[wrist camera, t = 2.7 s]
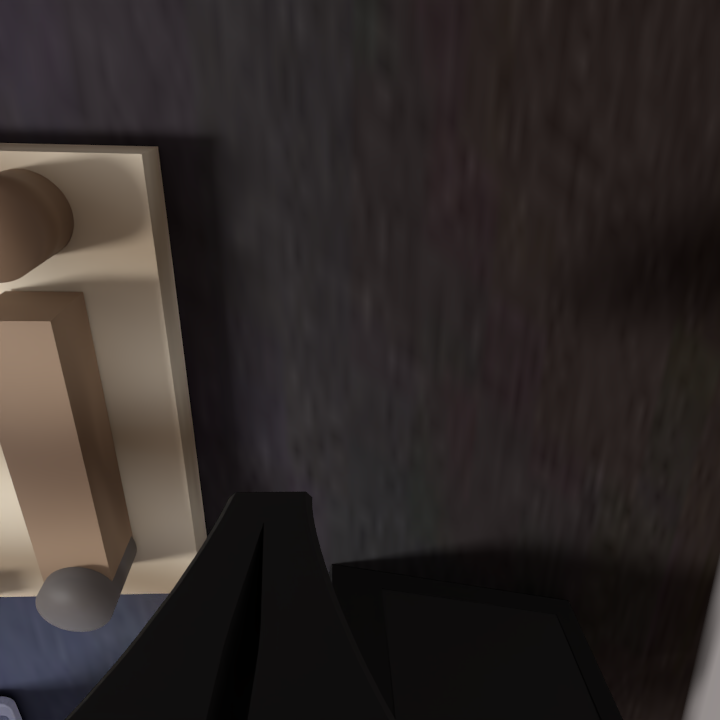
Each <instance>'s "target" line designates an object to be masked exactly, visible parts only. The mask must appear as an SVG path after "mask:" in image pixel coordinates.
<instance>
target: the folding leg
mask: <svg viewBox="0 0 720 720" xmlns="http://www.w3.org/2000/svg"><path fill="white" fill-rule="evenodd" d="M0 444H1V447H2V451H3V454H4V457H5V460H6V463H7V467H8V470H9V473H10V476H11V479H12V483H13V486H14V489H15V492H16V495H17V499H18V502H19V505H20V508H21V511H22V515H23V518H24V521H25V524H26V527H27V530H28V534H29V537H30V540H31V543H32V546H33V550H34V553H35V556H36V559H37V562H38V566H39V569H40V572H41V575H42V578H43V582H44V583H43V585H42V587H41V589H40V591H39V592H38V594H37V597H36V608H37V610H38V612H39V614H40V615H41V616H42V617H43V618H44V619H45V620H46V621H47V622H49V623H50V624H52V625H54V626H56V627H58V628H61V629H64V630H68V631H75V632H86V631H92V630H96V629H98V628H100V627H102V626H104V625H105V624H106V623H108V622H109V620H110V619H111V617H112V615H113V612H114V609H115V607H116V604H117V602H118V599H119V597H120V594H121V592H122V589H123V587H124V584H125V582H126V579H127V576H128V574H129V571H130V569H131V566H132V564H133V561H134V559H135V556H136V553H137V546H136V543H135V541H134V539H133V535H132V530H131V525H130V520H129V515H128V510H127V506H126V501H125V496H124V491H123V486H122V481H121V476H120V471H119V466H118V461H117V457H116V452H115V447H114V442H113V437H112V432H111V427H110V422H109V417H108V412H107V407H106V403H105V398H104V393H103V388H102V383H101V378H100V373H99V368H98V363H97V358H96V353H95V349H94V344H93V339H92V334H91V329H90V324H89V319H88V314H87V309H86V304H85V299H84V295H83V292H54V291H4V292H3V293H2V294H0Z"/></svg>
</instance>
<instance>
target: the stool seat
mask: <svg viewBox="0 0 720 720" xmlns="http://www.w3.org/2000/svg"><path fill="white" fill-rule="evenodd" d="M4 291H54V292H83V295H84V299H85V304H86V309H87V314H88V319H89V324H90V329H91V334H92V339H93V344H94V349H95V353H96V358H97V363H98V368H99V373H100V378H101V383H102V388H103V393H104V398H105V403H106V407H107V412H108V417H109V422H110V427H111V432H112V437H113V442H114V447H115V452H116V457H117V461H118V466H119V471H120V476H121V481H122V486H123V491H124V496H125V501H126V506H127V510H128V515H129V520H130V525H131V530H132V535H133V539H134V541H135V543H136V546H137V553H136V556H135V559H134V561H133V564H132V566H131V569H130V571H129V574H128V576H127V579H126V582H125V584H124V587H123V589H122V592H121V594H157V593H170V592H171V591H172V589H173V588H174V587H175V585H176V584H177V582H178V581H179V579H180V578H181V576H182V575H183V573H184V572H185V570H186V569H187V567H188V566H189V564H190V563H191V562H192V560H193V559H194V557H195V556H196V554H197V553H198V551H199V549H200V548H201V546H202V545H203V543H204V541H205V540H206V538H207V534H206V526H205V518H204V510H203V502H202V494H201V486H200V478H199V470H198V462H197V454H196V446H195V438H194V430H193V422H192V414H191V406H190V398H189V390H188V382H187V374H186V366H185V358H184V350H183V342H182V334H181V326H180V318H179V310H178V302H177V294H176V286H175V278H174V270H173V262H172V254H171V246H170V238H169V230H168V222H167V214H166V206H165V198H164V191H163V183H162V175H161V167H160V159H159V151H158V147H157V146H113V145H70V144H26V143H0V294H2V293H3V292H4ZM43 583H44V582H43V578H42V575H41V572H40V569H39V566H38V562H37V559H36V556H35V553H34V550H33V546H32V543H31V540H30V537H29V534H28V530H27V527H26V524H25V521H24V518H23V515H22V511H21V508H20V505H19V502H18V499H17V495H16V492H15V489H14V486H13V483H12V479H11V476H10V473H9V470H8V467H7V463H6V460H5V457H4V454H3V451H2V447H1V444H0V597H20V596H37V594H38V592H39V591H40V589H41V587H42V585H43Z"/></svg>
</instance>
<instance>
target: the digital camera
mask: <svg viewBox="0 0 720 720" xmlns="http://www.w3.org/2000/svg"><path fill="white" fill-rule="evenodd" d="M329 577H330V579H331V582H332V585H333V588H334V591H335V594H336V596H337V599H338V601H339V604H340V607H341V609H342V612H343V614H344V616H345V619H346V621H347V623H348V626H349V628H350V630H351V633H352V635H353V637H354V640H355V642H356V644H357V646H358V648H359V650H360V653H361V655H362V657H363V659H364V661H365V663H366V665H367V667H368V669H369V671H370V673H371V675H372V677H373V679H374V681H375V683H376V685H377V687H378V689H379V691H380V693H381V695H382V696H383V698H384V700H385V702H386V704H387V706H388V707H389V709H390V711H391V713H392V715H393V716H394V718H395V720H623V719H622V717H621V715H620V712H619V710H618V708H617V706H616V704H615V701H614V699H613V697H612V695H611V693H610V691H609V688H608V686H607V684H606V682H605V680H604V678H603V675H602V673H601V671H600V669H599V667H598V664H597V662H596V660H595V658H594V656H593V654H592V651H591V649H590V647H589V645H588V643H587V640H586V638H585V636H584V634H583V632H582V630H581V627H580V625H579V623H578V621H577V619H576V617H575V614H574V612H573V610H572V608H571V606H570V603H569V601H567V600H561V599H554V598H548V597H541V596H535V595H528V594H522V593H515V592H509V591H502V590H496V589H489V588H483V587H476V586H470V585H463V584H457V583H450V582H444V581H437V580H431V579H424V578H418V577H411V576H405V575H398V574H392V573H385V572H379V571H372V570H366V569H359V568H353V567H346V566H340V565H333V564H332V566H331V569H330V572H329Z"/></svg>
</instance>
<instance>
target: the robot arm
mask: <svg viewBox="0 0 720 720" xmlns="http://www.w3.org/2000/svg"><path fill="white" fill-rule="evenodd" d="M0 720H22V718H21V715H20V713H19V710H18V708H17V705H16V703H15V701H14V700H13V699H11V698H9V697H4V696H0ZM65 720H395V718H394V716H393V715H392V713H391V711H390V709H389V707H388V706H387V704H386V702H385V700H384V698H383V696H382V695H381V693H380V691H379V689H378V687H377V685H376V683H375V681H374V679H373V677H372V675H371V673H370V671H369V669H368V667H367V665H366V663H365V661H364V659H363V657H362V655H361V653H360V650H359V648H358V646H357V644H356V642H355V640H354V637H353V635H352V633H351V630H350V628H349V626H348V623H347V621H346V619H345V616H344V614H343V612H342V609H341V607H340V604H339V601H338V599H337V596H336V594H335V591H334V588H333V585H332V582H331V579H330V577H329V574H328V571H327V568H326V565H325V562H324V559H323V556H322V552H321V549H320V545H319V541H318V537H317V533H316V529H315V524H314V518H313V510H312V497H311V496H310V495H309V494H308V493H307V492H237V493H234V494H233V495H232V496H231V497H230V498H229V500H228V501H227V503H226V505H225V507H224V509H223V511H222V513H221V515H220V516H219V518H218V520H217V522H216V523H215V525H214V527H213V528H212V530H211V532H210V533H209V535H208V537H207V538H206V540H205V541H204V543H203V545H202V546H201V548H200V549H199V551H198V553H197V554H196V556H195V557H194V559H193V560H192V562H191V563H190V564H189V566H188V567H187V569H186V570H185V572H184V573H183V575H182V576H181V578H180V579H179V581H178V582H177V584H176V585H175V587H174V588H173V589H172V591H171V592H170V594H169V595H168V596H167V598H166V599H165V600H164V602H163V603H162V604H161V606H160V607H159V608H158V610H157V611H156V612H155V614H154V615H153V616H152V617H151V619H150V620H149V621H148V623H147V624H146V625H145V627H144V628H143V629H142V631H141V632H140V633H139V635H138V636H137V637H136V638H135V640H134V641H133V642H132V643H131V645H130V646H129V647H128V648H127V650H126V651H125V652H124V653H123V654H122V656H121V657H120V658H119V659H118V661H117V662H116V663H115V664H114V665H113V666H112V668H111V669H110V670H109V671H108V672H107V674H106V675H105V676H104V677H103V678H102V679H101V680H100V682H99V683H98V684H97V685H96V686H95V687H94V688H93V689H92V691H91V692H90V693H89V694H88V695H87V696H86V697H85V699H84V700H83V701H82V702H81V703H80V704H79V705H78V706H77V707H76V708H75V709H74V710H73V712H72V713H71V714H70V715H69V716H68V717H67V718H66V719H65Z"/></svg>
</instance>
